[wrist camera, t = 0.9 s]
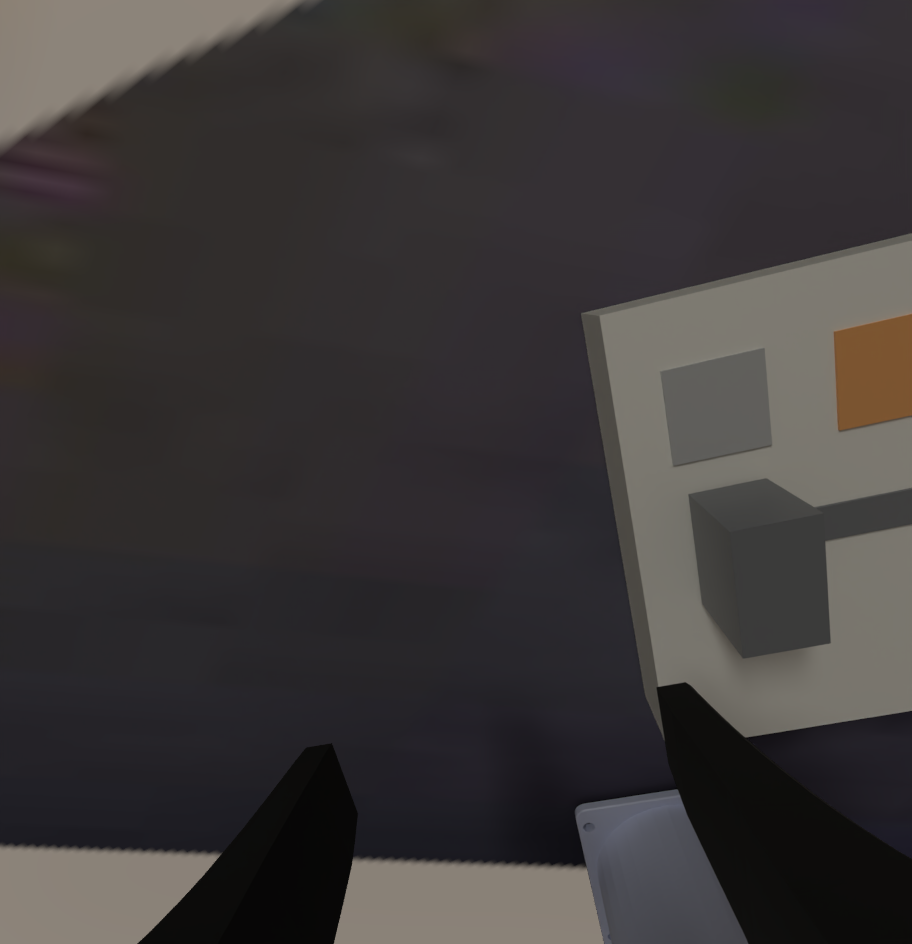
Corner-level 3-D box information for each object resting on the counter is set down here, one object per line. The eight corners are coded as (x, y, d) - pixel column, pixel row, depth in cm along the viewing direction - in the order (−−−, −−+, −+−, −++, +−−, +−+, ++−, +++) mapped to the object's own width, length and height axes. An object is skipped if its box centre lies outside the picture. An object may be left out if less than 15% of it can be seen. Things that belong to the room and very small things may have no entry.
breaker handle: (775, 590, 18) (830, 643, 16) (702, 603, 19) (742, 658, 16) (766, 478, 17) (823, 513, 15) (688, 494, 18) (729, 531, 15)
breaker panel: (998, 634, 22) (1079, 685, 19) (645, 695, 24) (669, 751, 21) (1017, 207, 18) (1126, 189, 15) (581, 313, 19) (600, 315, 16)
